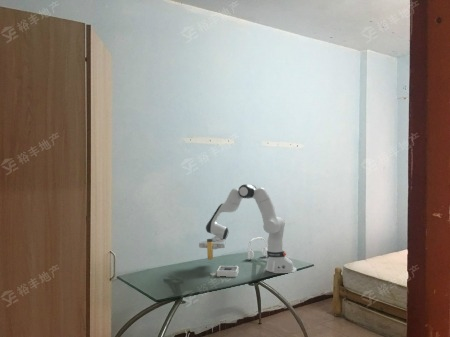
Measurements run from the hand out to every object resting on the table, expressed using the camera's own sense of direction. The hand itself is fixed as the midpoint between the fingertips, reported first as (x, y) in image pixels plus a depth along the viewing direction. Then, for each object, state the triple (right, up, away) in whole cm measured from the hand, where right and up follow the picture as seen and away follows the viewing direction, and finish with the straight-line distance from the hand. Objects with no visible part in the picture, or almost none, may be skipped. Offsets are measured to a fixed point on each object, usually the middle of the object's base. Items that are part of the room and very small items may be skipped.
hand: (209, 246), depth 249 cm
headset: (+40, -19, +40) cm, 60 cm away
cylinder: (+1, -9, +1) cm, 9 cm away
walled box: (+14, -18, -5) cm, 23 cm away
